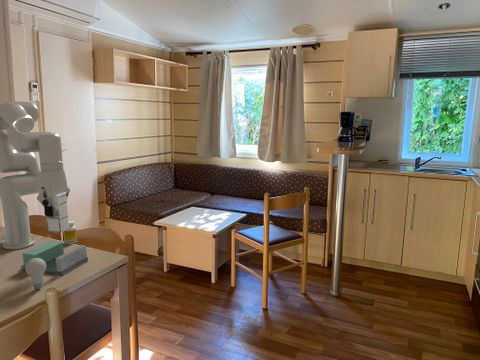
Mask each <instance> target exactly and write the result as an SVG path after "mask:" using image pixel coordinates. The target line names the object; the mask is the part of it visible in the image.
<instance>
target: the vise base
mask: <svg viewBox="0 0 480 360" xmlns="http://www.w3.org/2000/svg"><path fill="white" fill-rule="evenodd" d="M87 262H89V257H88V255H87V244H86V245H84V244H81V245H79V246H77V247H75V248H72V249H71V250H69V251H68V252H64V254H63V255H61V256H59V257H57V258H55V259H53V260H51V261H49V262H47V263H46V270H45V272H44V274H50V275H57V276H65V275H67V274H69V273H70V272H71V271H74V270H75V269H77V268H79V267H80V266H82V265H84V264H85V263H87ZM25 268H26V266H24V264H22V265H20V270H22V271H26V269H25Z"/></svg>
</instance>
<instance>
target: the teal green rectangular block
mask: <svg viewBox="0 0 480 360" xmlns="http://www.w3.org/2000/svg"><path fill="white" fill-rule="evenodd" d="M64 251H65V250H64V242H63V241H56V240H55V241H54V240H50V241H47V242H45V243H43V244H41V245H38V246H36V247H34V248H32V249H29V250H27V251H25V252H23V253H22V260H23V265H24V266H26V264H27V263H28V262H29V261H30V260H31V259H34V258H40V259H43V260H44V261H45V263H47V262H49V261H51V260H53V259H55V258H57V257H59V256H61V255H63V254H65V252H64Z"/></svg>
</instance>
